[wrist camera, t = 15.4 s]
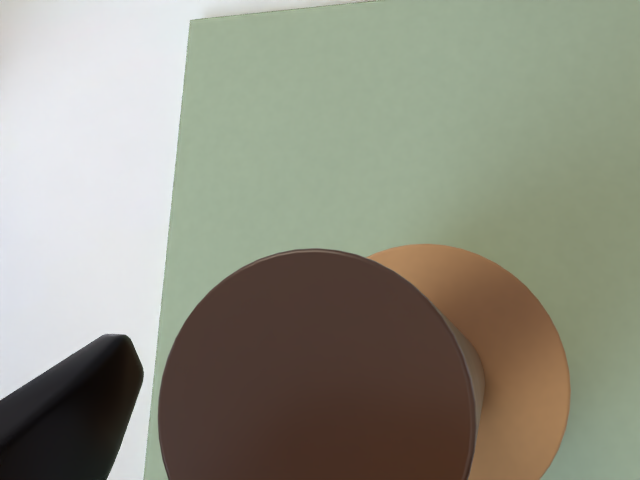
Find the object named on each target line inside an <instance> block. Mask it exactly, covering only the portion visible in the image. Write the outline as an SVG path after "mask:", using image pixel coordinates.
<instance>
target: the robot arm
mask: <svg viewBox="0 0 640 480" xmlns="http://www.w3.org/2000/svg"><path fill="white" fill-rule="evenodd" d="M143 377H144V372H143V367H142V364H141V362H140V360H139V357H138V355H137V352H136V350H135V348H134V345H133V343H132V341H131V339H130V338H129V337H128V336H126V335H121V334H105V335H102V336H101V337H99V338H97V339H96V340H94V341H93V342H91V343H90V344H88V345H86V346H85V347H83V348H82V349H80V350H79V351H77V352H76V353H74V354H72V355H71V356H69V357H68V358H66V359H65V360H63V361H61V362H60V363H58V364H57V365H55V366H54V367H52V368H50V369H49V370H47V371H46V372H44V373H43V374H41V375H39V376H38V377H36V378H35V379H33V380H32V381H30V382H28V383H27V384H25V385H24V386H22V387H21V388H19V389H17V390H16V391H14V392H13V393H11V394H10V395H8V396H7V397H5V398H3V399H2V400H0V480H107V478H108V475H109V473H110V471H111V469H112V466H113V464H114V462H115V459H116V456H117V454H118V451H119V449H120V446H121V443H122V440H123V437H124V434H125V432H126V429H127V426H128V423H129V420H130V417H131V414H132V411H133V409H134V406H135V403H136V400H137V397H138V394H139V391H140V388H141V386H142V382H143Z"/></svg>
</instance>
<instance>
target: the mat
mask: <svg viewBox="0 0 640 480" xmlns="http://www.w3.org/2000/svg"><path fill="white" fill-rule="evenodd" d="M410 244H437V245H447V246H451V247H456V248H461V249H464V250H467V251H470V252H473V253H476V254H479V255H481V256H483V257H485V258H487V259H489V260H491V261H493V262H495V263H497V264H498V265H500V266H501V267H503V268H504V269H506V270H507V271H509V272H510V273H512V274H513V275H514V276H515V277H516V278H518V279H519V280H520V281H521V282H522V283H523V284H525V285H526V286H527V287H528V289H529V290H530V291H531V292H532V293H533V294H534V295H535V296H536V297H537V299H538V300H539V301H540V303H541V304H542V305H543V307H544V308H545V310H546V311H547V313H548V314H549V316H550V317H551V319H552V321H553V323H554V325H555V327H556V329H557V331H558V333H559V336H560V339H561V341H562V344H563V347H564V350H565V353H566V358H567V362H568V367H569V373H570V386H571V397H570V411H569V416H568V421H567V426H566V431H565V433H564V436H563V439H562V442H561V445H560V448H559V450H558V452H557V453H556V455H555V457H554V459H553V461H552V463H551V465H550V466H549V468H548V469H547V471H546V472H545V473H544V475H543V476H542V477H541V479H540V480H640V0H377V1H368V2H358V3H349V4H339V5H329V6H320V7H310V8H301V9H291V10H281V11H272V12H262V13H253V14H243V15H233V16H224V17H214V18H205V19H195V20H190V26H189V36H188V46H187V56H186V65H185V75H184V85H183V95H182V105H181V115H180V124H179V134H178V144H177V154H176V164H175V174H174V184H173V193H172V203H171V213H170V223H169V233H168V243H167V252H166V262H165V272H164V282H163V292H162V302H161V312H160V321H159V331H158V341H157V351H156V361H155V371H154V380H153V390H152V400H151V410H150V420H149V430H148V440H147V449H146V459H145V469H144V479H143V480H168V477H167V473H166V470H165V467H164V463H163V460H162V454H161V449H160V443H159V434H158V399H159V392H160V386H161V380H162V375H163V371H164V368H165V365H166V361H167V358H168V355H169V353H170V350H171V348H172V345H173V343H174V341H175V338H176V336H177V335H178V333H179V331H180V329H181V328H182V326H183V324H184V322H185V321H186V319H187V318H188V316H189V315H190V314H191V312H192V311H193V310H194V308H195V307H196V305H197V304H198V303H199V302H200V301H201V300H202V299H203V298H204V297H205V296H206V295H207V294H208V292H209V291H210V290H211V289H213V288H214V287H215V286H216V285H217V284H219V283H220V282H221V281H222V280H223V279H225V278H226V277H227V276H229V275H230V274H232V273H233V272H235V271H237V270H238V269H240V268H241V267H243V266H245V265H247V264H249V263H251V262H254V261H256V260H258V259H260V258H263V257H266V256H269V255H272V254H275V253H278V252H284V251H289V250H295V249H308V248H322V249H334V250H340V251H345V252H349V253H354V254H358V255H360V256H363V257H368V256H370V255H372V254H375V253H377V252H380V251H383V250H386V249H390V248H393V247H399V246H404V245H410Z"/></svg>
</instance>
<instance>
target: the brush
mask: <svg viewBox="0 0 640 480" xmlns="http://www.w3.org/2000/svg"><path fill="white" fill-rule="evenodd" d="M570 397H571V386H570V373H569V367H568V362H567V358H566V353H565V350H564V347H563V344H562V341H561V339H560V336H559V333H558V331H557V329H556V327H555V325H554V323H553V321H552V319H551V317H550V316H549V314H548V313H547V311H546V310H545V308H544V307H543V305H542V304H541V303H540V301H539V300H538V299H537V297H536V296H535V295H534V294H533V293H532V292H531V291H530V290H529V289H528V287H527V286H526V285H525V284H523V283H522V282H521V281H520V280H519V279H518V278H516V277H515V276H514V275H513V274H512V273H510V272H509V271H507V270H506V269H504V268H503V267H501V266H500V265H498V264H497V263H495V262H493V261H491V260H489V259H487V258H485V257H483V256H481V255H479V254H476V253H473V252H470V251H467V250H464V249H461V248H456V247H451V246H447V245H437V244H410V245H404V246H399V247H393V248H390V249H386V250H383V251H380V252H377V253H375V254H372V255H370V256H368V257H363V256H360V255H358V254H354V253H349V252H345V251H340V250H334V249H322V248H308V249H295V250H289V251H284V252H278V253H275V254H272V255H269V256H266V257H263V258H260V259H258V260H256V261H254V262H251V263H249V264H247V265H245V266H243V267H241V268H240V269H238V270H237V271H235V272H233V273H232V274H230V275H229V276H227V277H226V278H225V279H223V280H222V281H221V282H220V283H219V284H217V285H216V286H215V287H214V288H213V289H211V290H210V291H209V292H208V294H207V295H206V296H205V297H204V298H203V299H202V300H201V301H200V302H199V303H198V304H197V305H196V307H195V308H194V310H193V311H192V312H191V314H190V315H189V316H188V318H187V319H186V321H185V322H184V324H183V326H182V328H181V329H180V331H179V333H178V335H177V336H176V338H175V341H174V343H173V345H172V348H171V350H170V353H169V355H168V358H167V361H166V365H165V368H164V371H163V375H162V380H161V386H160V392H159V399H158V434H159V443H160V449H161V454H162V460H163V463H164V467H165V470H166V473H167V477H168V480H540V479H541V477H542V476H543V475H544V473H545V472H546V471H547V469H548V468H549V466H550V465H551V463H552V461H553V459H554V457H555V455H556V453H557V452H558V450H559V448H560V445H561V442H562V439H563V436H564V433H565V431H566V426H567V421H568V416H569V411H570Z"/></svg>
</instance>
